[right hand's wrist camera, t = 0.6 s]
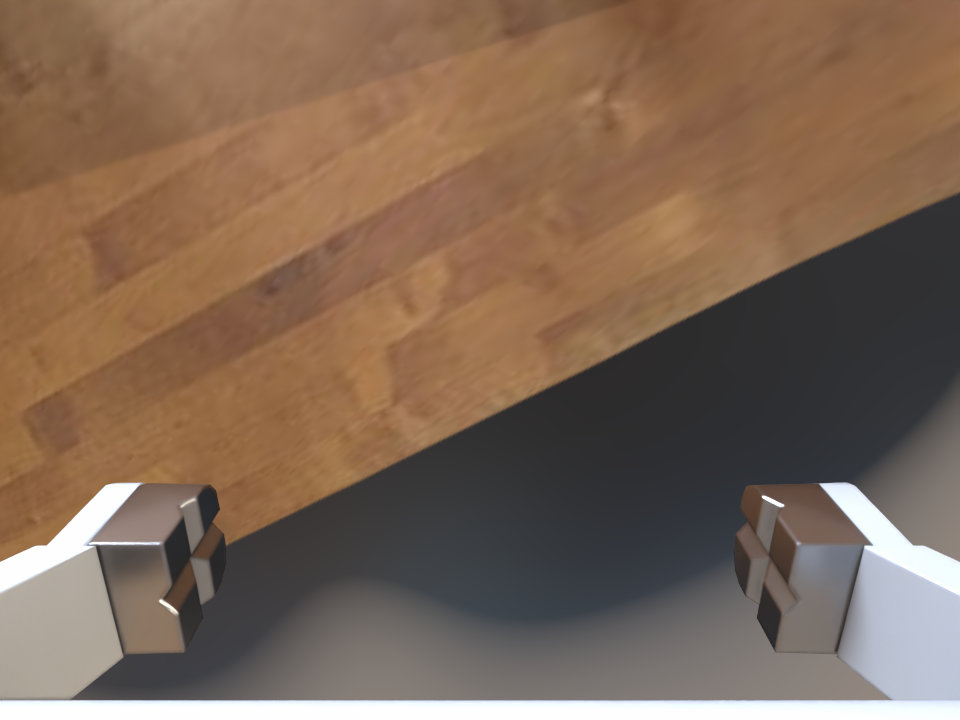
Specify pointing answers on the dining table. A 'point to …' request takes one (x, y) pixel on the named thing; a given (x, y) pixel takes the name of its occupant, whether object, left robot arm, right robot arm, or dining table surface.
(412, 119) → the dining table surface
